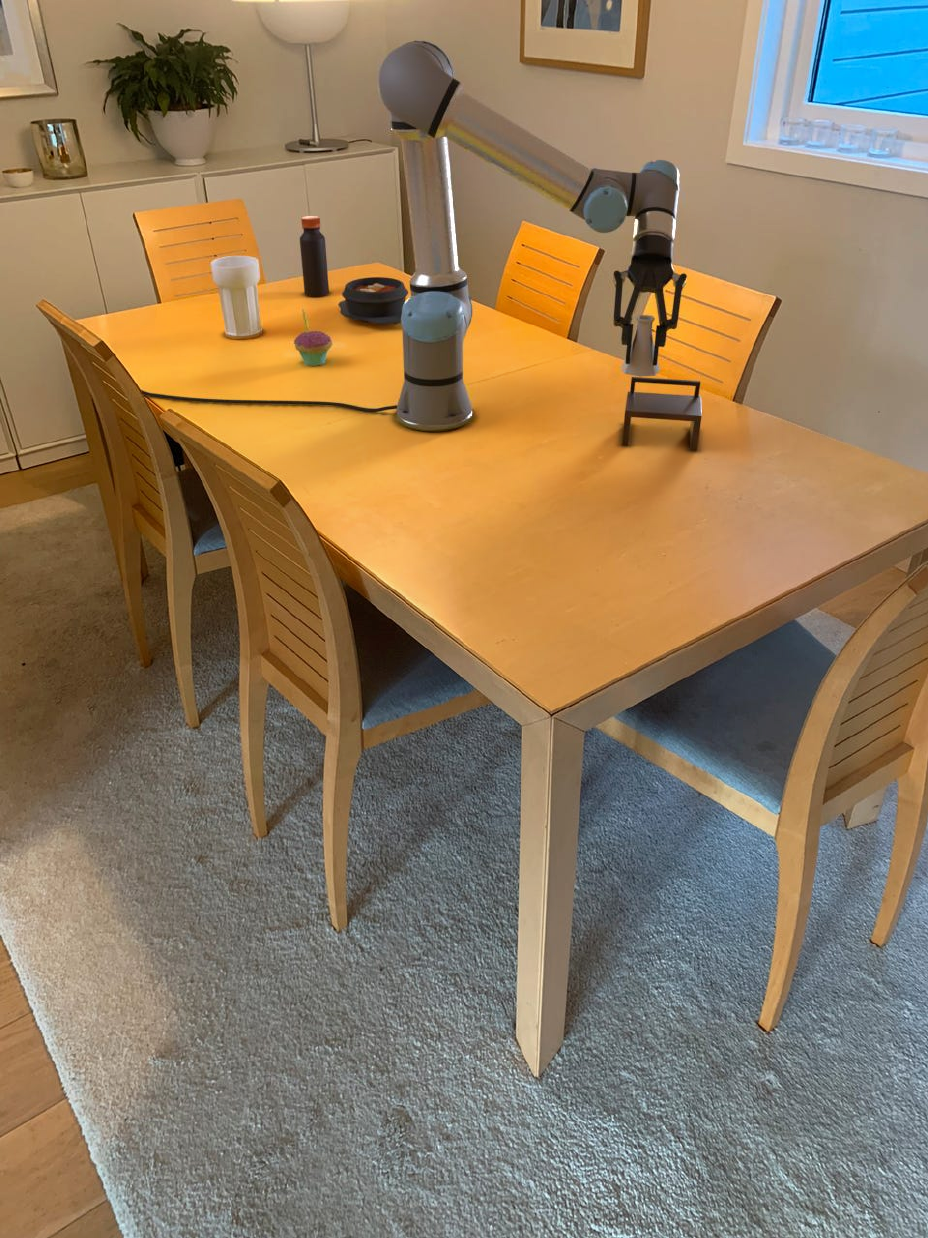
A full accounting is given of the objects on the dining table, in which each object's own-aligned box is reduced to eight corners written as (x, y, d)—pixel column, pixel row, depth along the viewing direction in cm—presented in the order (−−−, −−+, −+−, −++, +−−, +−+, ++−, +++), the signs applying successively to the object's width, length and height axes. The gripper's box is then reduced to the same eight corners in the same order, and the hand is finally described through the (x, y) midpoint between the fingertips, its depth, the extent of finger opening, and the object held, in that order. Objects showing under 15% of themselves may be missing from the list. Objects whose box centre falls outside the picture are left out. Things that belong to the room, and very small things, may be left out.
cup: (276, 331, 241) (268, 259, 231) (245, 343, 233) (235, 269, 224) (242, 323, 246) (233, 253, 236) (211, 335, 238) (200, 263, 229)
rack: (621, 445, 183) (626, 395, 178) (624, 425, 192) (629, 376, 186) (696, 451, 181) (703, 400, 176) (696, 430, 189) (703, 381, 184)
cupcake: (289, 365, 220) (283, 313, 214) (308, 354, 227) (303, 302, 220) (322, 370, 218) (317, 317, 211) (340, 358, 224) (336, 306, 217)
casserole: (432, 323, 247) (431, 289, 242) (369, 336, 238) (367, 301, 233) (383, 299, 264) (381, 268, 259) (322, 311, 255) (319, 278, 250)
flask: (659, 379, 176) (665, 324, 170) (619, 376, 177) (624, 322, 171) (660, 365, 181) (666, 312, 176) (622, 363, 183) (626, 310, 177)
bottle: (301, 296, 266) (294, 219, 255) (308, 289, 272) (302, 214, 261) (325, 297, 266) (319, 220, 254) (332, 290, 271) (326, 215, 260)
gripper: (698, 257, 181) (688, 373, 177) (606, 253, 183) (593, 367, 179) (702, 233, 173) (691, 354, 169) (606, 230, 176) (593, 349, 172)
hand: (641, 360), depth 174 cm, fingers closed on flask, 4 cm apart
